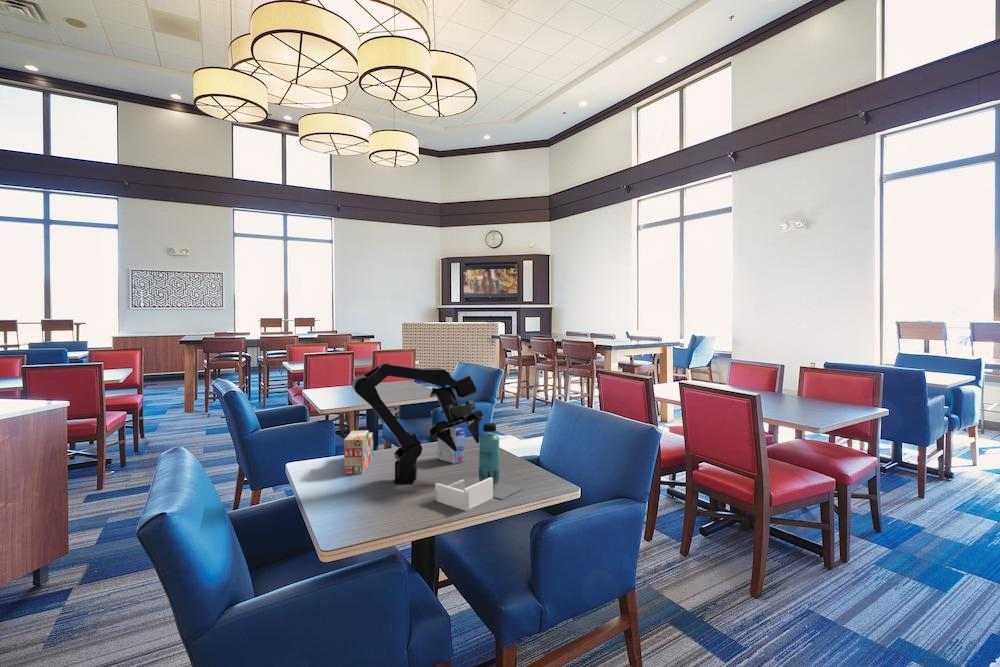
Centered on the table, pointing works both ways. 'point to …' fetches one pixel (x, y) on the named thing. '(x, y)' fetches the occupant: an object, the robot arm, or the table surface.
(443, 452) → the ink cartridge box
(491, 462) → the beverage bottle
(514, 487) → the mat
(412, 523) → the table surface
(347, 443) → the stack of blocks
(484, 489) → the open-sided box
